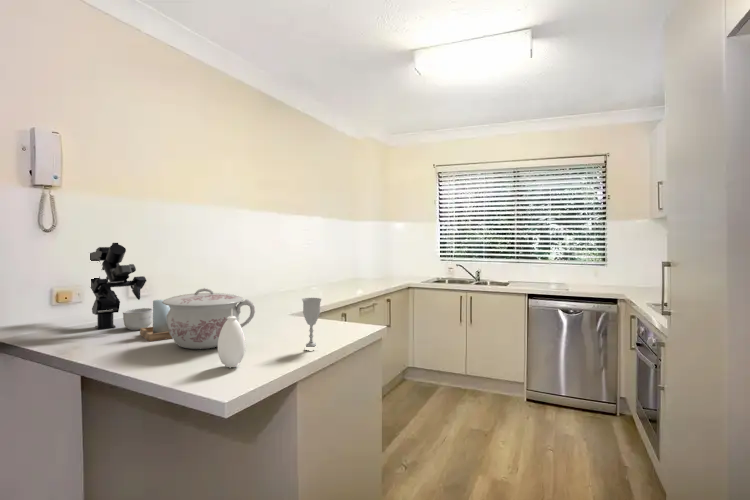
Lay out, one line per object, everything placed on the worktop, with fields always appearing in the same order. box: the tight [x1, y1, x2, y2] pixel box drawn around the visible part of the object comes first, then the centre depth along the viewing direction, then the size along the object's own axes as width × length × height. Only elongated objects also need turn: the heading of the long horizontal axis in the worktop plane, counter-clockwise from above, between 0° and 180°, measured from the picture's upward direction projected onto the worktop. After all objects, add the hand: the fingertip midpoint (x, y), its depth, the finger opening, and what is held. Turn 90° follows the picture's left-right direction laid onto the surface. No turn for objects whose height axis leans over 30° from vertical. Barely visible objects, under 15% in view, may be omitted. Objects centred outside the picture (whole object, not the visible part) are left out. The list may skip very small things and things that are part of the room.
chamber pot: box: [162, 287, 256, 351], centre depth 152 cm, size 28×28×21 cm
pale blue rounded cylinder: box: [152, 298, 170, 334], centre depth 164 cm, size 6×6×13 cm
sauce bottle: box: [217, 309, 246, 368], centre depth 127 cm, size 8×8×18 cm
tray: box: [139, 326, 173, 343], centre depth 164 cm, size 14×12×3 cm
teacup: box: [122, 307, 153, 331], centre depth 178 cm, size 14×11×8 cm
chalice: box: [301, 297, 323, 347], centre depth 148 cm, size 7×7×18 cm
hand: (127, 300), depth 165 cm, fingers open, 9 cm apart
